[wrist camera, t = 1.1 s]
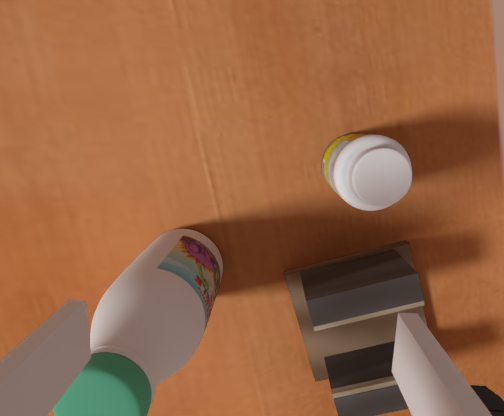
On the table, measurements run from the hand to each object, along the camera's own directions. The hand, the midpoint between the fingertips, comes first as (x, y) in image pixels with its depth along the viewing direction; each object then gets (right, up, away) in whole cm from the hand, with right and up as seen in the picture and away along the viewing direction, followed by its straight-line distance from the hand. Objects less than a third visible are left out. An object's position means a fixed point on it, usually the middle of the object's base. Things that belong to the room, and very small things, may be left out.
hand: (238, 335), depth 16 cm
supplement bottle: (+10, +10, +19) cm, 24 cm away
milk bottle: (-6, 0, +22) cm, 23 cm away
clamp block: (+11, -5, +22) cm, 25 cm away
